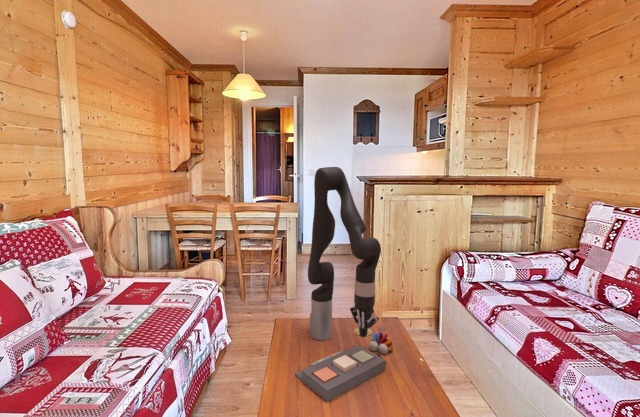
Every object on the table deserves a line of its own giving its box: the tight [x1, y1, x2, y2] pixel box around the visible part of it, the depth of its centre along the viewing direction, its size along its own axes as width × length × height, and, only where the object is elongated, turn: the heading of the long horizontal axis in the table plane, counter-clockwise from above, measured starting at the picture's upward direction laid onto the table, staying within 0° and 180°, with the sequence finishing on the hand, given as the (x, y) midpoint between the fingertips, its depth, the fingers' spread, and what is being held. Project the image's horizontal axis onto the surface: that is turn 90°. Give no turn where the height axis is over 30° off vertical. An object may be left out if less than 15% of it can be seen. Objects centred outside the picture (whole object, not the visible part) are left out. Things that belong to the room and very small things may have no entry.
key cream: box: [333, 355, 357, 373], centre depth 125 cm, size 6×6×2 cm
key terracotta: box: [313, 367, 338, 383], centre depth 119 cm, size 6×6×2 cm
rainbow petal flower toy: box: [368, 331, 394, 355], centre depth 143 cm, size 8×10×7 cm
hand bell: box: [353, 323, 373, 337], centre depth 157 cm, size 8×8×16 cm
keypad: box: [294, 344, 387, 403], centre depth 127 cm, size 18×28×4 cm, turn 129°
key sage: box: [351, 350, 374, 364], centre depth 131 cm, size 6×6×2 cm
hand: (363, 336), depth 130 cm, fingers closed
